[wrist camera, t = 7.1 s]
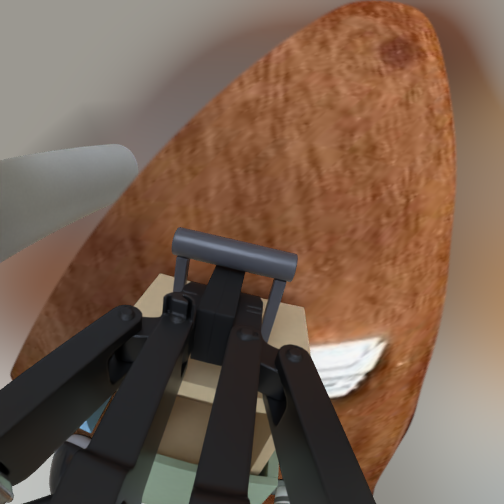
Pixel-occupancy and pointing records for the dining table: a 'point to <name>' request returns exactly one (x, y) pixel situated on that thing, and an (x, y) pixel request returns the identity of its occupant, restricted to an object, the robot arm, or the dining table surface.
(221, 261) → the drawer
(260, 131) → the dining table surface
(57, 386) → the robot arm
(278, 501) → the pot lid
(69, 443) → the black bell
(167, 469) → the cabinet
